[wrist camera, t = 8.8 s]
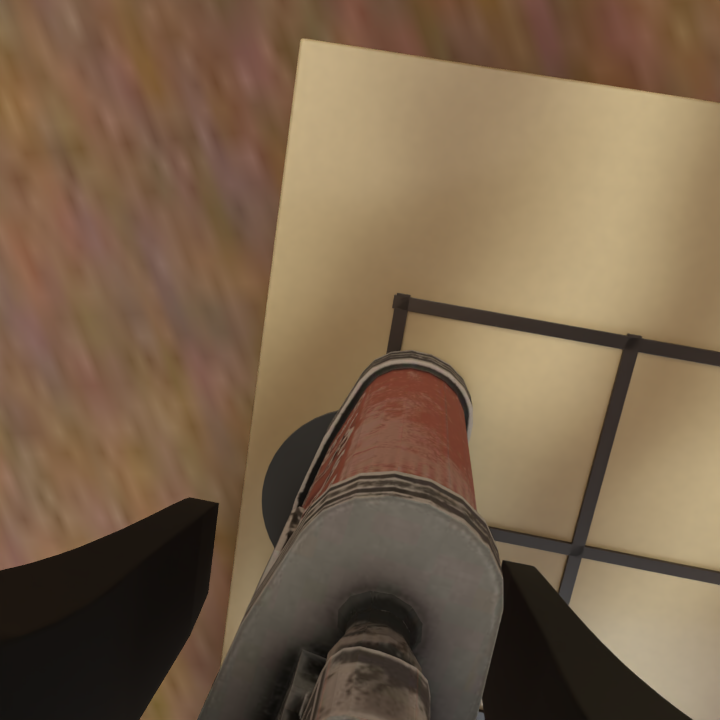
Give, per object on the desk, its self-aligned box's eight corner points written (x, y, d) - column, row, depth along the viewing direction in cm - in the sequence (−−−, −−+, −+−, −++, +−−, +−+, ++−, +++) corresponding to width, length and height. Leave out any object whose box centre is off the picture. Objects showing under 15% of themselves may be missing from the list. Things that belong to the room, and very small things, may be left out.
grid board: (1078, 166, 14) (1130, 164, 13) (771, 906, 19) (791, 948, 18) (308, 46, 15) (299, 35, 14) (212, 781, 20) (200, 814, 19)
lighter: (360, 327, 15) (232, 571, 6) (503, 381, 15) (627, 720, 6) (251, 620, 17) (21, 1166, 8) (377, 669, 17) (306, 1278, 8)
